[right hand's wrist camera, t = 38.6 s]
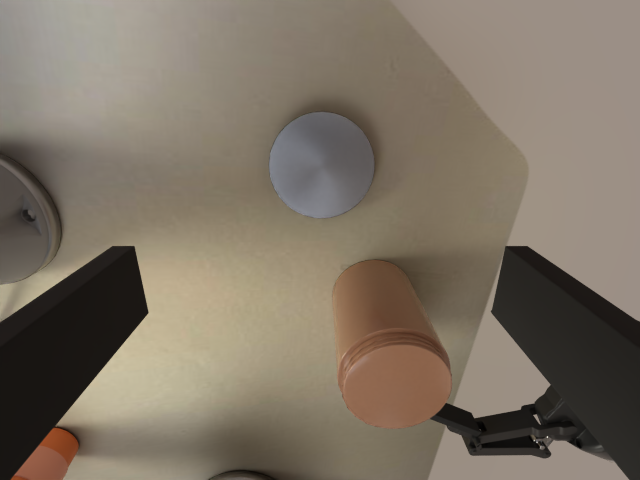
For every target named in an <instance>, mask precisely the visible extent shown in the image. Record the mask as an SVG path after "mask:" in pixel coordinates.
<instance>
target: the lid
mask: <svg viewBox="0 0 640 480" xmlns="http://www.w3.org/2000/svg"><path fill="white" fill-rule="evenodd" d="M374 165H375V164H374V155H373V150H372V147H371V145H370V142H369V140H368V138H367V137H366V135H365V134H364V132H363V131H362V130H361V129H360V128H359V127H358V126H357V125H356V124H355V123H354V122H352V121H351V120H349V119H347V118H346V117H344V116H341V115H339V114H336V113H332V112H312V113H308V114H304V115H302V116H300V117H298V118H296V119H295V120H293V121H291V122H290V123H289V124H288V125H286V126H285V127H284V128H283V130H282V131H281V132H280V133H279V135H278V136H277V138H276V140H275V142H274V143H273V146H272V149H271V153H270V157H269V173H270V178H271V181H272V184H273V187H274V189H275V191H276V192H277V194H278V196H279V197H280V198H281V199H282V201H283V202H284V203H285V204H286V205H287V206H289V207H290V208H291V209H293V210H294V211H296V212H298V213H300V214H302V215H305V216H308V217H313V218H330V217H335V216H338V215H341V214H343V213H345V212H347V211H349V210H351V209H352V208H353V207H355V206H356V205H357V204H358V203H359V202H360V201H361V200H362V199H363V197H364V196H365V195H366V193H367V191H368V190H369V187H370V185H371V183H372V179H373V175H374Z"/></svg>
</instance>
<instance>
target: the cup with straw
mask: <svg viewBox="0 0 640 480" xmlns="http://www.w3.org/2000/svg"><path fill="white" fill-rule="evenodd" d="M78 447H79V445H78V442H77V440H76V438H75V437H74V436H73V435H72V434H70V433H69V432H67V431H65V430H63V429H59V428H53V429H52V430H51V431H50V433H49V434H48V435H47V436H46V437H45V439H44V440H43V441H42V442H41V443H40V445H39V446H38V447H37V448H36V450H35V451H34V452H33V453H32V454H31V456H30V457H29V458H28V459H27V460H26V462H25V463H24V464H23V465H22V466H21V468H20V469H19V470H18V471H17V473H16V474H15V475H14V476H13V477H12V479H11V480H63V478H64V476H65V474H66V473H67V470H68V467H69V465H70V463H71V461H72V460H73V458H74V456H75V455H76V453H77V451H78Z"/></svg>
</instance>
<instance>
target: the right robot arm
mask: <svg viewBox="0 0 640 480" xmlns="http://www.w3.org/2000/svg"><path fill="white" fill-rule="evenodd" d="M60 238H61V227H60V221H59V217H58V213H57V211H56V208H55V206H54V204H53V201H52V200H51V198H50V196H49V195H48V193H47V192H46V190H45V189H44V187H43V186H42V185H41V184H40V183H39V181H38V180H37V179H36V178H35V177H34V176H33V175H32V174H31V173H30V172H28V171H27V170H26V169H25V168H24V167H22V166H21V165H19V164H18V163H17V162H15V161H13V160H12V159H10V158H8V157H6V156H4V155H2V154H0V284H8V283H13V282H17V281H20V280H23V279H25V278H27V277H29V276H31V275H33V274H34V273H36V272H38V271H39V270H41V269H42V268H44V267H45V266H46V265H48V264H49V263H50V262H51V260H52V259H53V258H54V256H55V255H56V252H57V250H58V247H59V244H60ZM147 314H148V308H147V303H146V299H145V294H144V289H143V285H142V280H141V275H140V270H139V266H138V261H137V256H136V252H135V247H134V246H112V247H111V248H109V249H108V250H106V251H105V252H103V253H102V254H100V255H99V256H98V257H96V258H95V259H93V260H92V261H90V262H89V263H87V264H86V265H84V266H83V267H81V268H80V269H78V270H77V271H75V272H74V273H73V274H71V275H70V276H68V277H67V278H65V279H64V280H62V281H61V282H59V283H58V284H56V285H55V286H53V287H52V288H50V289H49V290H47V291H46V292H45V293H43V294H42V295H40V296H39V297H37V298H36V299H34V300H33V301H31V302H30V303H28V304H27V305H25V306H24V307H22V308H21V309H20V310H18V311H17V312H15V313H14V314H12V315H11V316H9V317H8V318H6V319H5V320H3V321H2V322H0V480H11V479H12V477H13V476H14V475H15V474H16V473H17V471H18V470H19V469H20V468H21V466H22V465H23V464H24V463H25V462H26V460H27V459H28V458H29V457H30V456H31V454H32V453H33V452H34V451H35V450H36V448H37V447H38V446H39V445H40V443H41V442H42V441H43V440H44V439H45V437H46V436H47V435H48V434H49V433H50V431H51V430H52V429H53V428H54V427H55V425H56V424H57V423H58V422H59V420H60V419H61V418H62V417H63V416H64V414H65V413H66V412H67V411H68V410H69V408H70V407H71V406H72V405H73V404H74V402H75V401H76V400H77V399H78V398H79V396H80V395H81V394H82V393H83V391H84V390H85V389H86V388H87V387H88V385H89V384H90V383H91V382H92V381H93V379H94V378H95V377H96V376H97V375H98V373H99V372H100V371H101V370H102V368H103V367H104V366H105V365H106V364H107V362H108V361H109V360H110V359H111V358H112V356H113V355H114V354H115V353H116V352H117V350H118V349H119V348H120V347H121V346H122V344H123V343H124V342H125V341H126V339H127V338H128V337H129V336H130V335H131V333H132V332H133V331H134V330H135V329H136V327H137V326H138V325H139V324H140V323H141V321H142V320H143V319H144V318H145V316H146V315H147ZM492 314H493V315H494V316H495V318H496V319H497V320H498V321H499V323H500V324H501V325H502V326H503V327H504V329H505V330H506V331H507V332H508V333H509V335H510V336H511V337H512V338H513V339H514V341H515V342H516V343H517V344H518V345H519V347H520V348H521V349H522V350H523V352H524V353H525V354H526V355H527V356H528V358H529V359H530V360H531V361H532V362H533V364H534V365H535V366H536V367H537V368H538V370H539V371H540V372H541V373H542V375H543V376H544V377H545V378H546V379H547V381H548V382H549V383H550V384H551V385H552V387H553V388H554V389H555V390H556V391H557V393H558V394H559V395H560V396H561V398H562V399H563V400H564V401H565V402H566V404H567V405H568V406H569V407H570V408H571V410H572V411H573V412H574V413H575V414H576V416H577V417H578V418H579V419H580V420H581V422H582V423H583V424H584V425H585V427H586V428H587V429H588V430H589V431H590V433H591V434H592V435H593V436H594V437H595V439H596V440H597V441H598V442H599V443H600V445H601V446H602V447H603V448H604V450H605V451H606V452H607V453H608V454H609V456H610V457H611V458H612V459H613V460H614V462H615V463H616V464H617V465H618V466H619V468H620V469H621V470H622V471H623V472H624V474H625V475H626V476H627V477H628V479H629V480H640V322H639V321H637V320H635V319H634V318H632V317H631V316H629V315H628V314H626V313H625V312H623V311H622V310H620V309H619V308H617V307H616V306H615V305H613V304H612V303H610V302H609V301H607V300H606V299H604V298H603V297H601V296H600V295H598V294H597V293H595V292H594V291H592V290H591V289H590V288H588V287H587V286H585V285H584V284H582V283H581V282H579V281H578V280H576V279H575V278H573V277H572V276H570V275H569V274H567V273H566V272H564V271H563V270H562V269H560V268H559V267H557V266H556V265H554V264H553V263H551V262H550V261H548V260H547V259H545V258H544V257H542V256H541V255H540V254H538V253H537V252H535V251H534V250H532V249H531V248H529V247H528V246H506V247H505V252H504V256H503V261H502V266H501V270H500V275H499V280H498V285H497V289H496V294H495V299H494V303H493V308H492Z"/></svg>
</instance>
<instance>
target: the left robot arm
mask: <svg viewBox="0 0 640 480" xmlns="http://www.w3.org/2000/svg"><path fill="white" fill-rule="evenodd" d="M491 312H492V311H491ZM535 414H537V416H538V418H539V421H540V423H541V425H540V424H539V423H538V422H537V420H536V419H535V417H534V416H533V415H535ZM430 419H432V420H434V421H437V422H440V423H442V424H445V425H447V428H448V429H449V430H450V431H452V432H455V433H458V434H459V435H462V438H463V440H464V442H465V445H466V447H467V449H468V451H469V454H470V455H473V456H477V455H478V456H479V455H533V456H537V457H541V458H548V457H550V456H551V452H550V451H549V449H548V446H549V445H550V444H551V443H552V441H553V440H556V441H567V442H569V443H571V444H572V445H574V446H575V447H577V448H579V449H581V450H583V451H585V452H588V453H590V454H593V455H595V456H598V457H600V458H603V459H606V460H608V461H609V462H612V463H614V464H616V463H615V462H614V460H613V459H612V458H611V457H610V456H609V454H608V453H607V452H606V451H605V450H604V448H603V447H602V446H601V445H600V443H599V442H598V441H597V440H596V439H595V437H594V436H593V435H592V434H591V433H590V431H589V430H588V429H587V428H586V427H585V425H584V424H583V423H582V422H581V420H580V419H579V418H578V417H577V416H576V414H575V413H574V412H573V411H572V410H571V408H570V407H569V406H568V405H567V404H566V402H565V401H564V400H563V399H562V398H561V396H560V395H559V394H558V393H557V391H556V390H555V389H554V388H553V387H552V385H550V387H549V388H548V389H547V390H546V392H545V394H544V395H542V396H541V397H539V398H538V399H537V400H536V401H535V404H529V405H524V406H522V407H521V410H517V411H512V412H507V413H501V414H496V415H490V416H485V417H480V418H474V417H473V415H472V413H470V412H468V411H465V410H463V409H460V408H458V407H455V406H453V405H450V404H447V403H445V405H444V406H443V407H442V408H441V410H440V411H439V412H437V413H436V414H435V415H434V416H432V417H431V418H430ZM209 480H273V479H272V478H270V477H267V476H265V475H262V474H259V473H254V472H247V471H234V472H227V473H223V474H220V475H217V476H215V477H213V478H211V479H209Z"/></svg>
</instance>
